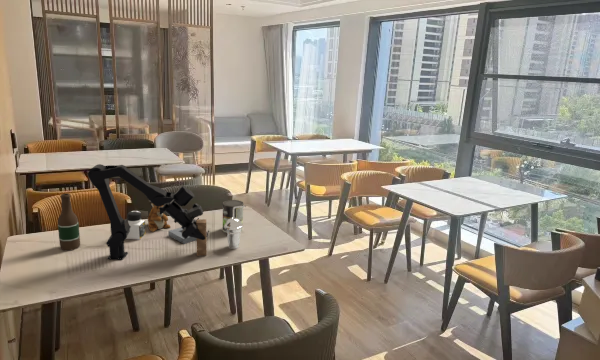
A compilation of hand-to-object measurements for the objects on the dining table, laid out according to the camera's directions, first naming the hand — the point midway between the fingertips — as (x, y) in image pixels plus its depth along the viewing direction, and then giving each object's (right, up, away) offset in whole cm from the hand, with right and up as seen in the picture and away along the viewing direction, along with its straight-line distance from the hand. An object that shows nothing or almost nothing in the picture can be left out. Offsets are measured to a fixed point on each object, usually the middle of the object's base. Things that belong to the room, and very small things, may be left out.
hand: (204, 237), depth 182 cm
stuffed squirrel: (-31, +1, +30) cm, 43 cm away
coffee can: (+7, -1, +30) cm, 31 cm away
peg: (-2, -7, +2) cm, 8 cm away
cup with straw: (+11, -6, +10) cm, 16 cm away
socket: (-12, -2, +20) cm, 23 cm away
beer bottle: (-59, -5, +2) cm, 59 cm away
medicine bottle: (-36, -2, +17) cm, 40 cm away
